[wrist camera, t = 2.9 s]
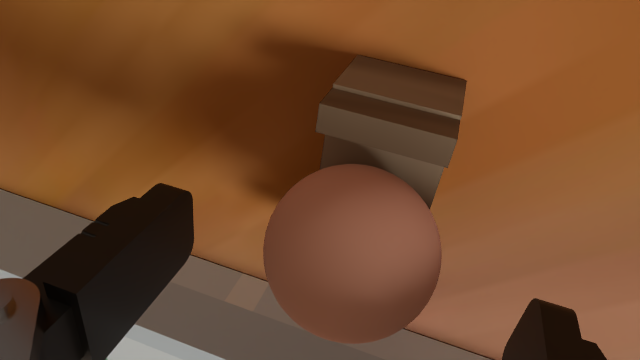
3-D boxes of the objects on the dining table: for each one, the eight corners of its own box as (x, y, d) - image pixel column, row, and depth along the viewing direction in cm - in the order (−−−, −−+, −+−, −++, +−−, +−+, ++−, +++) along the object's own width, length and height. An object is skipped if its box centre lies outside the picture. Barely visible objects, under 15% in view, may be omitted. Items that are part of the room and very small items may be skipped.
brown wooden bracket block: (357, 54, 13) (320, 99, 10) (466, 80, 12) (458, 135, 9) (327, 221, 16) (292, 288, 13) (411, 247, 15) (393, 323, 13)
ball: (307, 116, 11) (234, 205, 8) (470, 160, 11) (459, 277, 7) (292, 237, 14) (229, 344, 10) (424, 279, 13) (401, 409, 10)
